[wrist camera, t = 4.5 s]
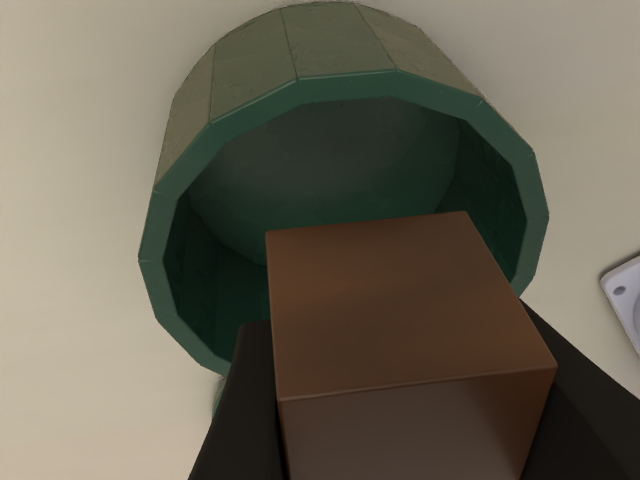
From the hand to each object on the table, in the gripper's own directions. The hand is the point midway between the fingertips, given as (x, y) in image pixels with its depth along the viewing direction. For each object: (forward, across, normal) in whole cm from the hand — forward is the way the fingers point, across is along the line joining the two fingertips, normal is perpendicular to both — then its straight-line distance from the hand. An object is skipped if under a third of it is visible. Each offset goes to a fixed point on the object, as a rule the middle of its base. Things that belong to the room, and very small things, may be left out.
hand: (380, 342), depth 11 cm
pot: (+9, 0, +1) cm, 9 cm away
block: (+1, 0, 0) cm, 1 cm away
